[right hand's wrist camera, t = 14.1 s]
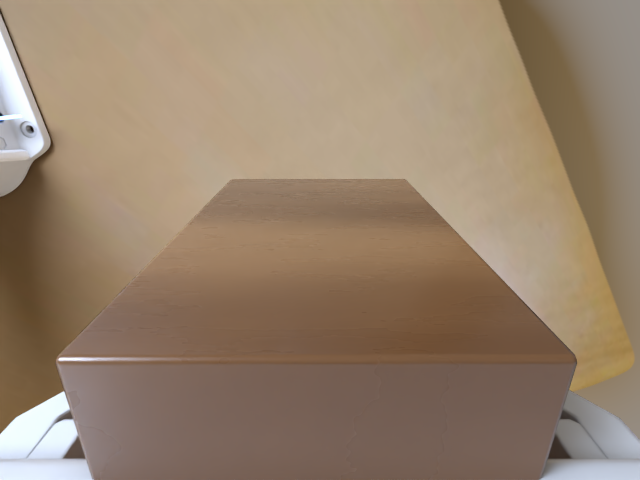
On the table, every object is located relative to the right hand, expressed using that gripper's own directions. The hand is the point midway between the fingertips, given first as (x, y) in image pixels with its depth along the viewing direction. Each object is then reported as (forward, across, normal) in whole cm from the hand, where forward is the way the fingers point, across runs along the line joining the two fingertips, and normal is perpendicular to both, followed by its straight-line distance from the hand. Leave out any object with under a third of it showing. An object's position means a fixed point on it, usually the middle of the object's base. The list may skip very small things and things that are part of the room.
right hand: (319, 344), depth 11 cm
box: (+4, 0, -7) cm, 8 cm away
